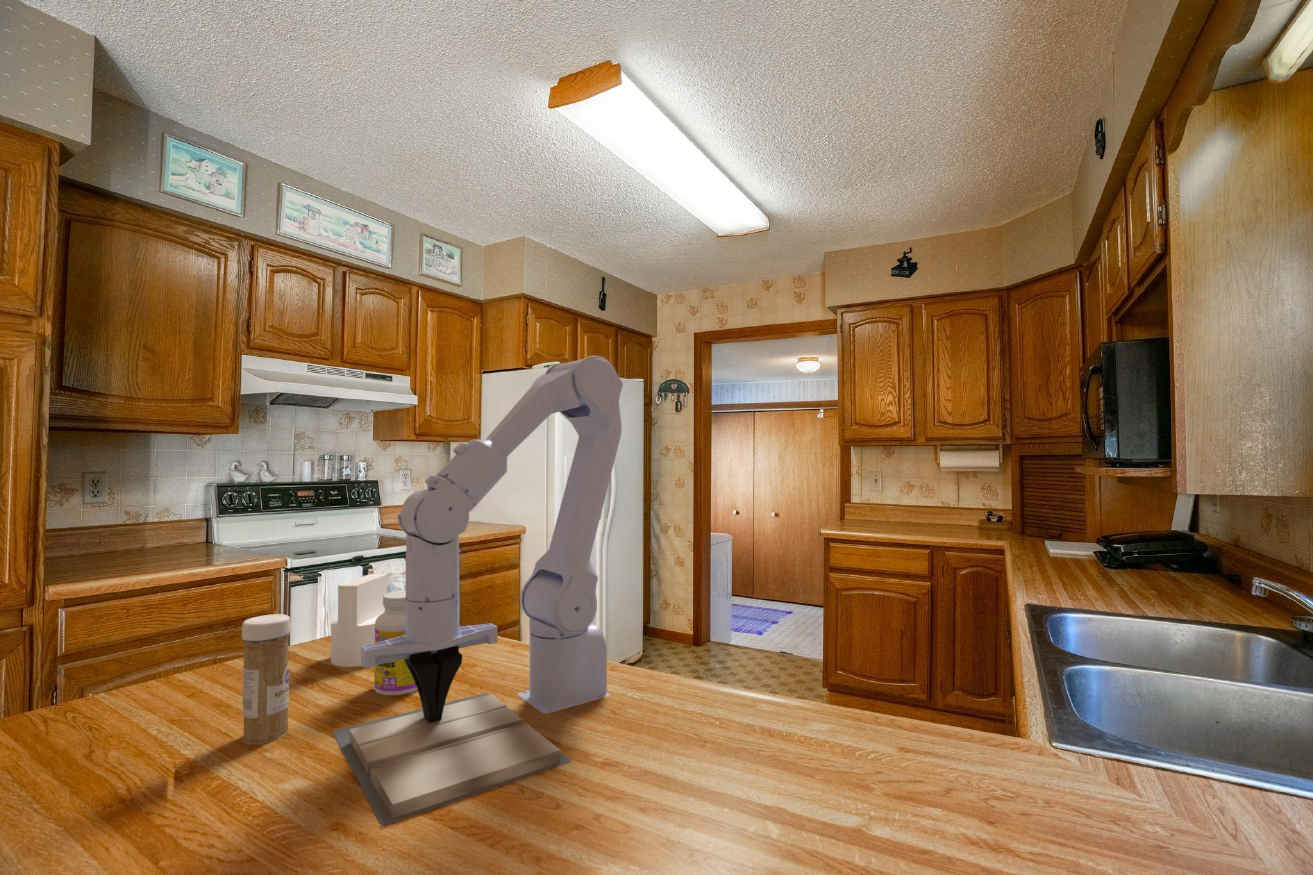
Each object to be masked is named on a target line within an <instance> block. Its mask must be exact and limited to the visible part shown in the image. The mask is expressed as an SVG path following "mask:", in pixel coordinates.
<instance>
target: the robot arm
mask: <svg viewBox="0 0 1313 875" xmlns="http://www.w3.org/2000/svg"><path fill="white" fill-rule="evenodd" d="M622 389H623V382H622V380H621V378H620V376H619V375H618V372H617V371H616V369H615V367H614V366H613V364H612V363H611V362H610V361H609V360H608V359H607V358H605V357H603V356H599V355H590V356H587V357H584V358H583V359H578V360H574V361H573V360H572V361H568V362H560V363H556V364H553V365H551V366H550V367H549V368H548V369H547V370H546V371H545V373H544V374H541V375H540V376H539V377H537V378H536V379H535V380H534V382H533V384H531V387H529V389H528V390H527V391H526V392H525V393H524V394H523V396H522V397H521V398H520V399H519V400H518V401H517V402H516V404H515V405H514V406H513V407H512V408H511V409H510V410H509V411H508V413H507V414H506V415H505V416H504V417H503V419H502V420H501V421H500V422H499V423H498V424H497V426H495V428H494V429H493V430H492V431H491V432H490V433H489V435H487V437H486V438H485V439H475V438H474V439H471V440H469V441H468V442H467V443H465V442H464V443H463V442H462V443H459V444H458V445H457V446H456V447H454V448H453V451H452V452H453V453H454V454H455V455H454V456H453V457H452V458H451V460H449V461H448V462H447V463H446V465H444V467H442V468H441V470H440V471H438V473H436V475H429V476H428V477H427V478H426V479H425V481H424V483H425V484H426V487H427V488H426V489H425V488H423V489H421V490H417V491H415V492H413V493H411V494H410V495H409V496H408V497H407V498H406V499H405V501H404V502H403V504H402V506H401V507H402V510H401V511H400V513H398V514H397V522H398V524H399V525H398V526H399V527H400V528H401V530H402V531H403V532H404V533H405V535H406V536H405V537H406V540H405V542H406V546H405V548H406V550H405V551H406V552H405V590H406V618H405V635H403V636H399V637H396V638H392V639H388V640H385V641H381V642H378V643H374V644H369V645H364V646H361V664H362V666H361V667H363V668H364V669H366V670H367V669H371V668H375V666H376V665H377V664H382V663H387V662H392V661H397V660H402V659H404V661H405V663H406V665H407V667H408V669H409V671H410V673H411V675H412V677H413V679H414V682H415V684H416V687H417V689H418V690H417V692H418V696H419V699H420V703H421V707H422V708H421V709H423V714H424V718H425V719H426V720H427V721H428V722H429V723H431V722H435V721H439V720H441V719H442V714H443V709H444V705H445V703H446V700H447V697H448V693H449V691H450V688H451V685H452V683H453V681H454V678H455V677H456V674H457V673H458V670H459V669H460V667H461V666H462V662H463V654H462V653H460V652H459V650H460V649H462V648H463V649H464V648H468V647H474V646H478V645H483V644H487V645H493V644H498V626H497V625H495V624H493V623H491V622H490V623H484V624H483V623H482V624H474V625H463V626H461V625H460V535H461V534H462V533H464V532H465V531H466V529H467V527H468V525H469V520H470V512H473V510H474V509H475V507H476V506H477V505H478V504H479V503H480V502H481V501H482V500H483V499H484V498H485V497H486V495H487V494H488V493H490V491H491V490H492V489H493V488H494V486H496V485H497V484H498V482H499V481H500V480H501V479H502V478H503V477H504V476H505V475H506V473H507V471H508V456H510V455H511V454H512V453H513V452H514V451H515V449H517V448H518V447H519V446H520V445H521V444H522V443H523V442H524V441H525V440H526V439H528V437H530V435H531V434H532V433H533V432H534V431H535V430H536V429H538V427H540V426H541V424H543V422H545V420H546V419H548V417H550V416H551V415H552V414H556V413H560V415H561V416H563V417H564V418H565V419H566V420H567V421H568V422H569V423H570V424H571V425H572V427H573V428H574V430H575V431H576V433H577V435H578V439H577V443H576V446H575V449H574V450H575V452H574V454H573V459H572V462H571V466H570V469H569V474H568V476H567V480H566V484H565V489H564V491H563V496H562V499H561V503H560V507H559V511H558V514H557V519H556V522H555V526H554V529H553V533H552V536H551V541H550V544H549V547H548V549H547V551H546V552H545V553H544V554H543V555H542V556H540V557H539V558H538V560H537V561H536V562H535V565H534V568H533V572H532V573H531V575H530V577H529V578H528V579H527V581H525V582H524V584H523V587H522V589H521V591H520V597H519V599H520V606H521V610H522V611H523V613H524V614H525V615H526V616H527V617H528V619H529V620H528V621H529V623H528V624H529V630H528V631H529V689H528V690H524V691H521V692H518V693H517V696H519V698H521V699H523V700H524V701H525V702H527V703H528V704H529V705H530V706H532V707H533V708H535V709H536V710H537V711H539V712H541V713H542V714H550V713H554V712H557V711H561V710H564V709H568V708H571V707H572V708H573V707H575V706H577V705H578V706H579V705H582V704H587V703H589V702H593V701H597V700H600V699H604V698H606V697H610V696H611V694H610V693H609V692H608V688H607V687H608V686H607V685H608V675H607V674H608V671H607V670H608V666H607V664H608V662H607V660H608V658H607V657H608V656H607V655H608V653H607V652H608V650H607V643H606V638H605V635H604V632H603V631H602V629H601V628H600V627H599V626H598V625H596V624H595V623H593V621H594V619H595V617H596V614H597V609H598V601H597V594H596V591H597V590H596V589H597V584H598V579H599V577H598V574H597V572H596V570H595V567H594V566H593V564H592V562H591V554H592V553H593V552H592V551H593V547H594V543H595V539H596V536H597V531H598V528H599V523H600V519H601V515H602V513H603V512H602V511H603V508H604V505H605V499H606V497H607V491H608V489H609V486H610V485H609V484H610V480H611V476H612V471H613V468H614V464H615V459H616V456H617V452H618V449H619V448H618V447H619V444H620V441H621V437H622V429H623V428H622V419H621V418H622V417H621V412H620V397H621V393H622Z"/></svg>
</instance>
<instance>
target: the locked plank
mask: <svg viewBox="0 0 1313 875" xmlns="http://www.w3.org/2000/svg"><path fill="white" fill-rule="evenodd" d="M560 752H561V749H560V748H558V747H557V746H556V745H555V744H554V743H552V742H551V741H550V740H549V739H547V738H546V737H544V736H543V735H542V734H541V733H540V732H538V731H537V730H536V729H535V728H533V727H532V726H531V725H529V723H528V722H523V724H519V725H516V726H512V727H509V728H505V729H502V730H498V731H495V732H491V733H488V734H484V735H481V736H477V737H474V738H470V739H467V740H463V741H460V742H456V743H453V744H449V745H446V746H442V747H439V748H435V749H432V750H428V751H425V752H421V753H418V754H414V755H411V756H407V757H404V758H400V759H397V760H393V761H390V762H386V763H383V764H379V765H376V766H372V767H371V781H372V783H373V785H374V787H375V788H376V790H377V792H378V794H379V795H380V797H381V799H382V801H383V802H384V804H385V806H386V808H387V810H388V811H389V813H390V815H391V817H392V818H396V817H399V816H402V815H405V814H408V813H411V812H414V811H417V810H420V809H423V808H426V807H429V806H432V805H435V804H438V803H441V802H444V801H447V800H450V799H452V798H455V797H458V796H461V795H464V794H467V793H470V792H473V791H476V790H479V789H482V788H485V787H488V786H491V785H494V784H497V783H500V782H503V781H506V780H509V779H512V778H515V777H518V776H520V775H523V774H526V773H529V772H532V771H535V770H538V769H541V768H544V767H547V766H550V765H553V764H556V763H559V762H560Z"/></svg>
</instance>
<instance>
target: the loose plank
mask: <svg viewBox="0 0 1313 875" xmlns="http://www.w3.org/2000/svg"><path fill="white" fill-rule="evenodd" d="M522 720H523V719H522V718H520V717H519V716H518V715H517V714H516V713H515V712H514V711H513V710H512V709H510V708H509V707H508V706H507V704H504V703H503V702H502V701H501V700H500V699H498V697H496V696H495V695H494V694H493V693H491V694H488V695H487V696H483V697H479V698H475V699H471V700H467V701H463V702H458V703H454V704H450V705H446V706H444V709H443V714H442V719H441V720H439V721H435V722H431V723H429V722H428V721H427V720H426V719H425V718H424V714H423V711H422V712H418V713H414V714H410V715H406V716H402V717H398V718H394V719H390V720H386V721H382V722H378V723H374V724H370V725H366V726H362V727H357V728H353V729H350V742H351V744H352V746H353V748H354V750H355V751H356V753H357V755H358V757H359V759H360V761H361V763H362V765H363V767H364V768H365V770H366V772H367V774H368V775H369V774H371V767H372V766H376V765H379V764H383V763H386V762H390V761H393V760H397V759H400V758H404V757H407V756H411V755H414V754H418V753H421V752H425V751H428V750H432V749H435V748H439V747H442V746H446V745H449V744H453V743H456V742H460V741H463V740H467V739H470V738H474V737H477V736H481V735H484V734H488V733H491V732H495V731H498V730H502V729H505V728H509V727H512V726H516V725H519V724H522V722H523V721H522Z"/></svg>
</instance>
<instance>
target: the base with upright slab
mask: <svg viewBox="0 0 1313 875" xmlns="http://www.w3.org/2000/svg"><path fill="white" fill-rule="evenodd" d="M387 581H388V575H387V574H382V573H381V574H380V573H375V574H374V573H372V574H371V573H369V574H367V575H364V576H361V577H358V578H354V579H352V580H349V581H347V582H343V583H341V584H338V585H337V617H335V618H333V619H332V620H331V621H330V663H331V664H332V665H333V666H336V665H337V667H343V668H356V667H363V666H362V664H361V646H364V645H369V644H374V643H375V621H376V619H377V618H378V616H379V615H381V614H382V613H384V612H385V607H384V605H383V596H384V595H385V594H387V593H388V592H387V591H388V588H387V587H388V582H387Z"/></svg>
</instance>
